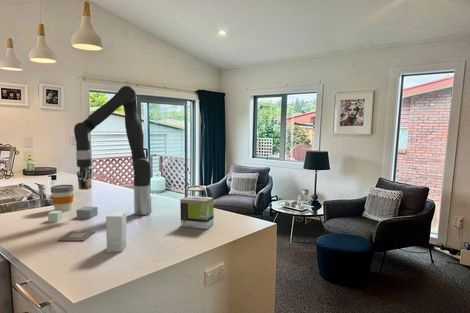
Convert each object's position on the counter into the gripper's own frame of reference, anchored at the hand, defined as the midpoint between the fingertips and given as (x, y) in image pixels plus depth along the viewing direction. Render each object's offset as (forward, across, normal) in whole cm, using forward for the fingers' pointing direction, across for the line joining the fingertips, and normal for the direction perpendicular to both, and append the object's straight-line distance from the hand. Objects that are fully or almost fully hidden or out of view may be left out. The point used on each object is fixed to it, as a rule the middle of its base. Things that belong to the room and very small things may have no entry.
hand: (85, 187), depth 179 cm
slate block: (+17, +1, 0) cm, 17 cm away
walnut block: (0, 0, 0) cm, 0 cm away
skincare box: (+17, -48, -33) cm, 61 cm away
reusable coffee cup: (+17, +16, +21) cm, 31 cm away
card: (+17, -33, -9) cm, 38 cm away
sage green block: (+17, -6, +14) cm, 23 cm away
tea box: (+18, -17, -64) cm, 69 cm away
